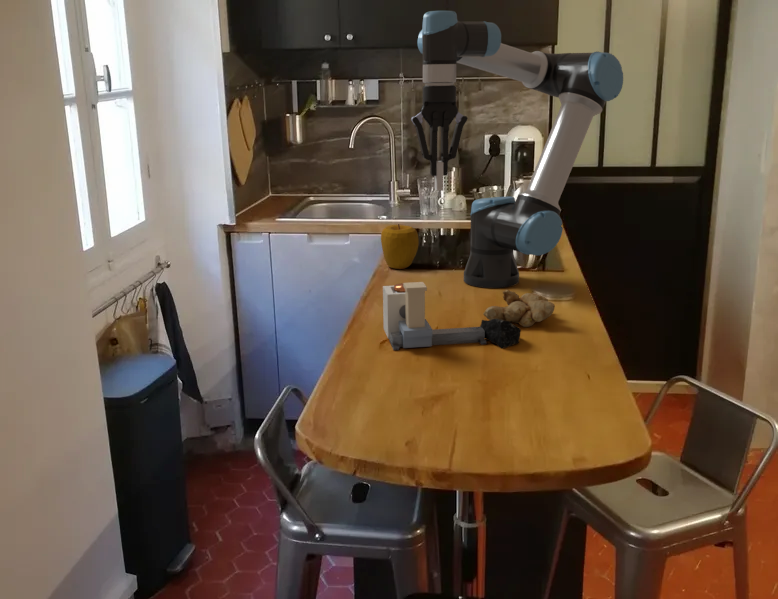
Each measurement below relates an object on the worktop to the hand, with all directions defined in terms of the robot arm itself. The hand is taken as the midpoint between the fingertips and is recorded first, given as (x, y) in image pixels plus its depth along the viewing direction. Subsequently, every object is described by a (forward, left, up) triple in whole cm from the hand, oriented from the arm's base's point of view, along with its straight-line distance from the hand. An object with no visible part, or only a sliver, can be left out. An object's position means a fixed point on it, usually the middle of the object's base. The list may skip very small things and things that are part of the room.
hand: (438, 189), depth 183 cm
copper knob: (+11, +15, -25) cm, 31 cm away
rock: (-8, +23, -30) cm, 39 cm away
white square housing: (+11, +15, -29) cm, 35 cm away
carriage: (+10, +23, -29) cm, 38 cm away
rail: (+5, +23, -29) cm, 37 cm away
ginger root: (-18, +11, -30) cm, 36 cm away
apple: (+2, -45, -30) cm, 54 cm away
